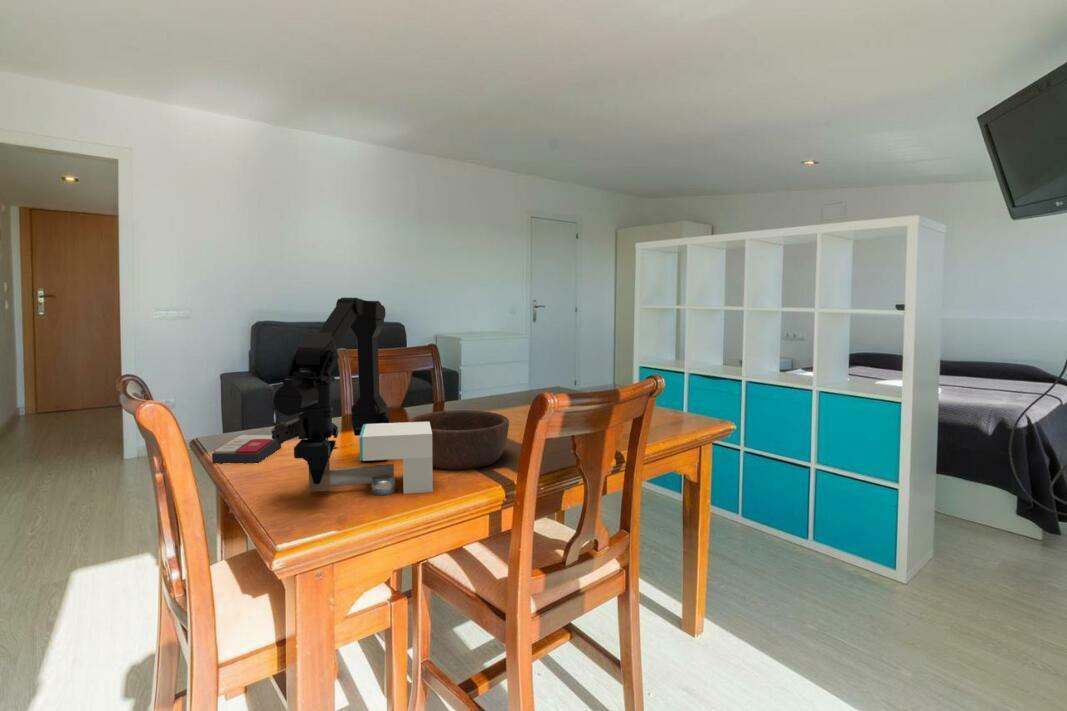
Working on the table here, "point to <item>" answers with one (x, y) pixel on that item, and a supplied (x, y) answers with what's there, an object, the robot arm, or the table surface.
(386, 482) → the steel puck
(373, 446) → the l-shaped block
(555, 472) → the table surface
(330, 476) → the grey mallet
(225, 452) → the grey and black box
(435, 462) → the wooden bowl
